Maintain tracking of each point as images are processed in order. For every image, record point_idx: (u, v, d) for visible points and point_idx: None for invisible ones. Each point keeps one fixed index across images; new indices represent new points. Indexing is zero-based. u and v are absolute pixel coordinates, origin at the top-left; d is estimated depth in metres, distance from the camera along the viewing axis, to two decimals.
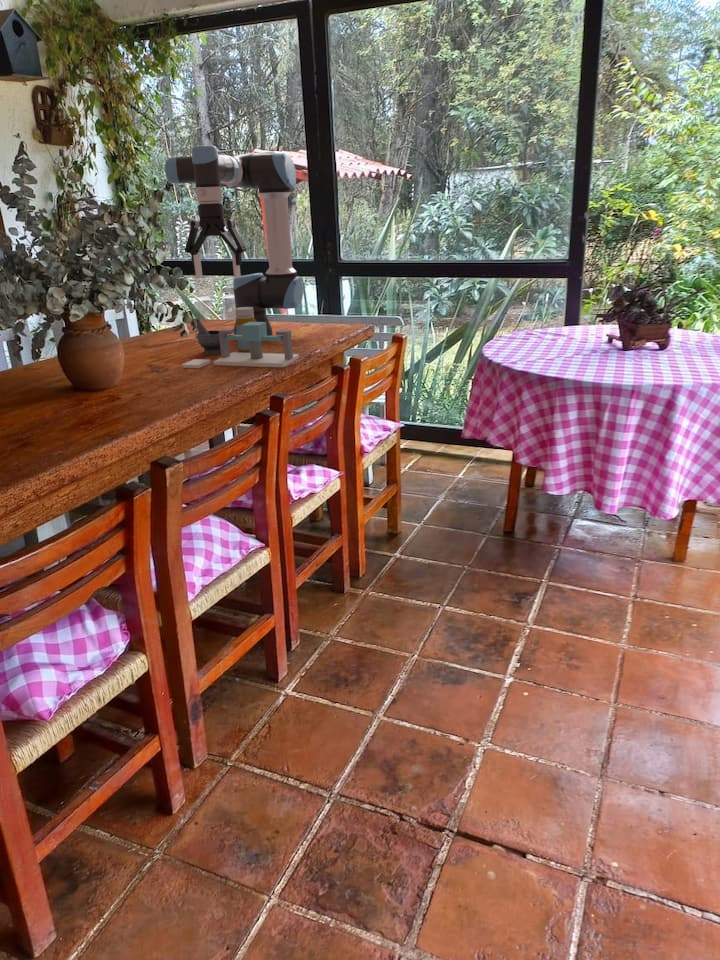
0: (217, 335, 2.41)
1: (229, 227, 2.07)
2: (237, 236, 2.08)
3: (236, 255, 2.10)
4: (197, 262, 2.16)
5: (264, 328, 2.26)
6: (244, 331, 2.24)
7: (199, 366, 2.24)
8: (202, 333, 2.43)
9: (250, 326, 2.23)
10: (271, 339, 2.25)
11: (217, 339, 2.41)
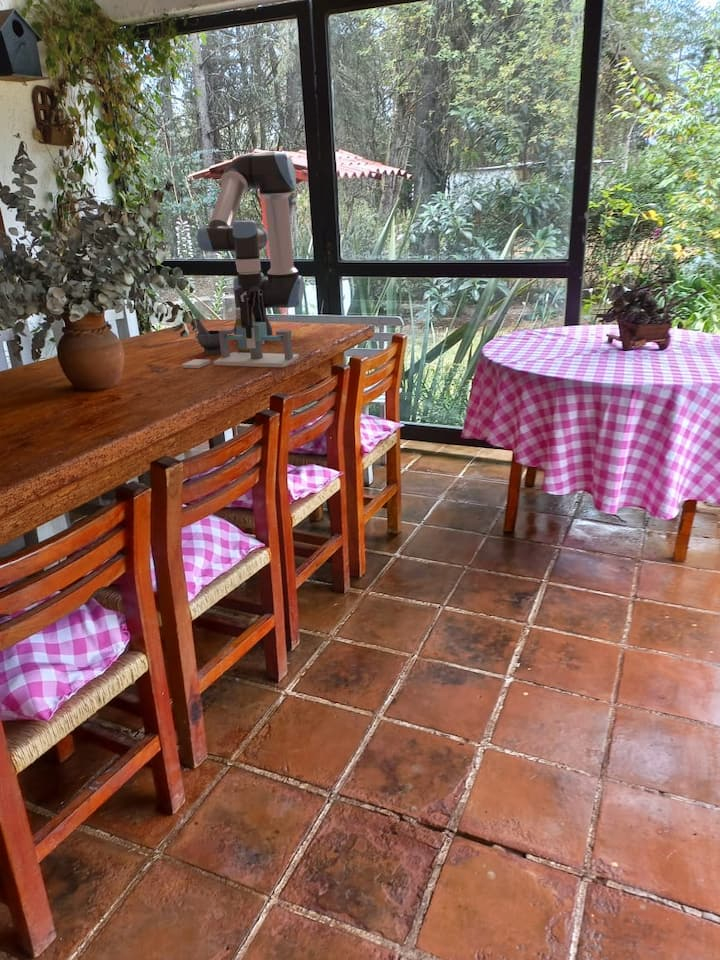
0: (217, 335, 2.41)
1: None
2: (242, 312, 2.18)
3: None
4: None
5: (264, 328, 2.26)
6: (244, 331, 2.24)
7: (199, 366, 2.24)
8: (202, 333, 2.43)
9: None
10: (271, 339, 2.25)
11: (217, 339, 2.41)
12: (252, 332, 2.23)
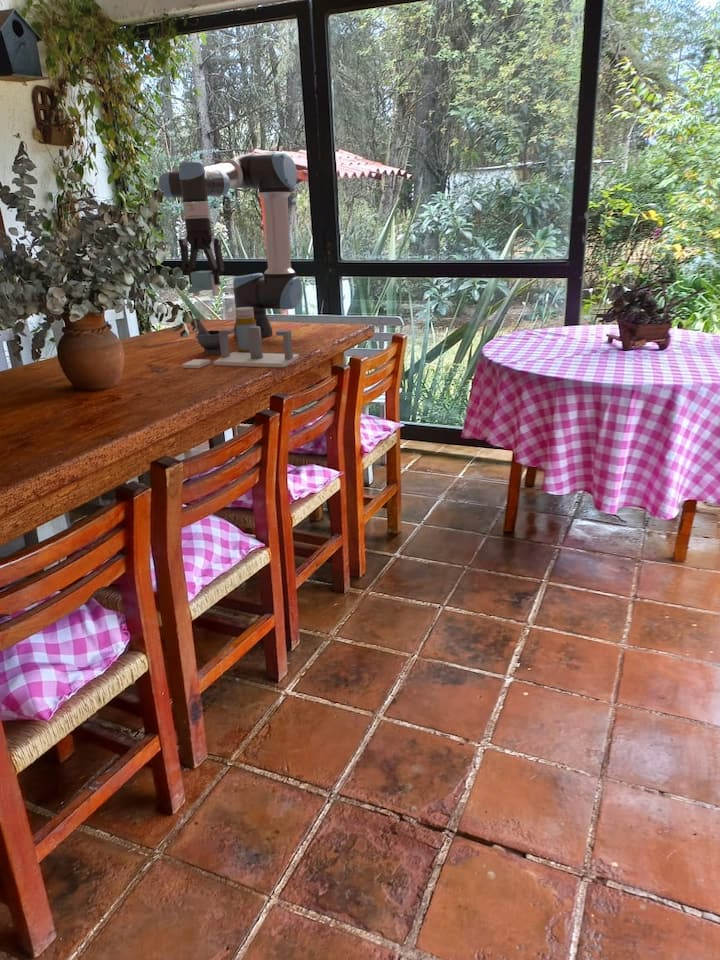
0: (217, 335, 2.41)
1: (215, 245, 2.12)
2: (220, 256, 2.14)
3: (214, 275, 2.16)
4: None
5: None
6: (209, 279, 2.16)
7: (199, 366, 2.24)
8: (202, 333, 2.43)
9: None
10: None
11: (217, 339, 2.41)
12: None
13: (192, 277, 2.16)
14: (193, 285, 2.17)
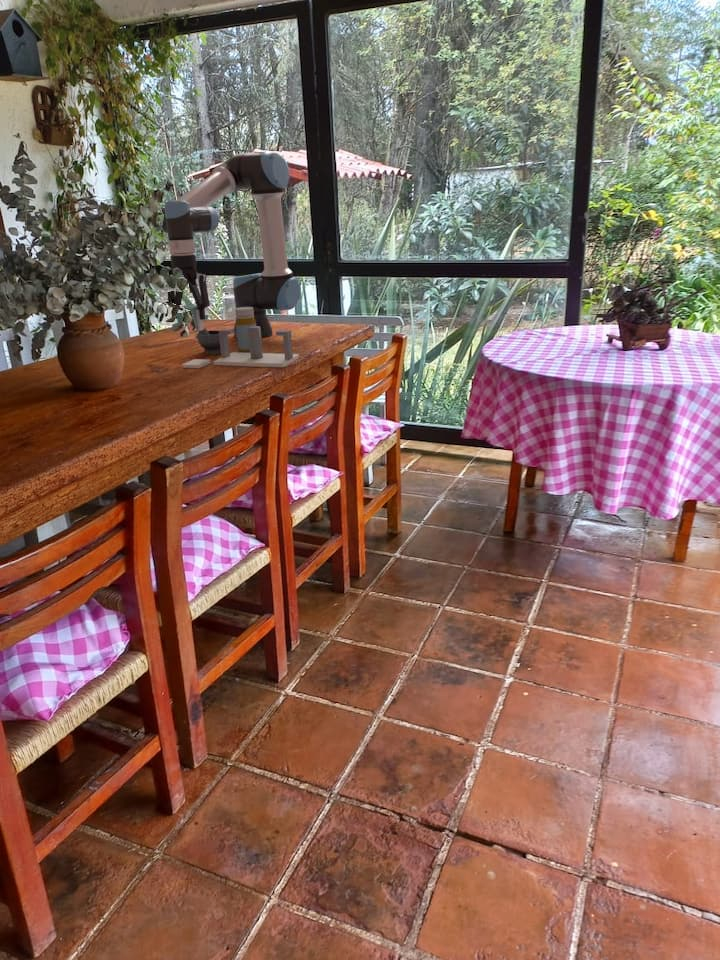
0: (217, 335, 2.41)
1: (200, 282, 2.15)
2: (205, 292, 2.17)
3: (200, 310, 2.20)
4: None
5: None
6: (195, 314, 2.19)
7: (199, 366, 2.24)
8: (202, 333, 2.43)
9: None
10: None
11: (217, 339, 2.41)
12: None
13: None
14: (179, 320, 2.20)
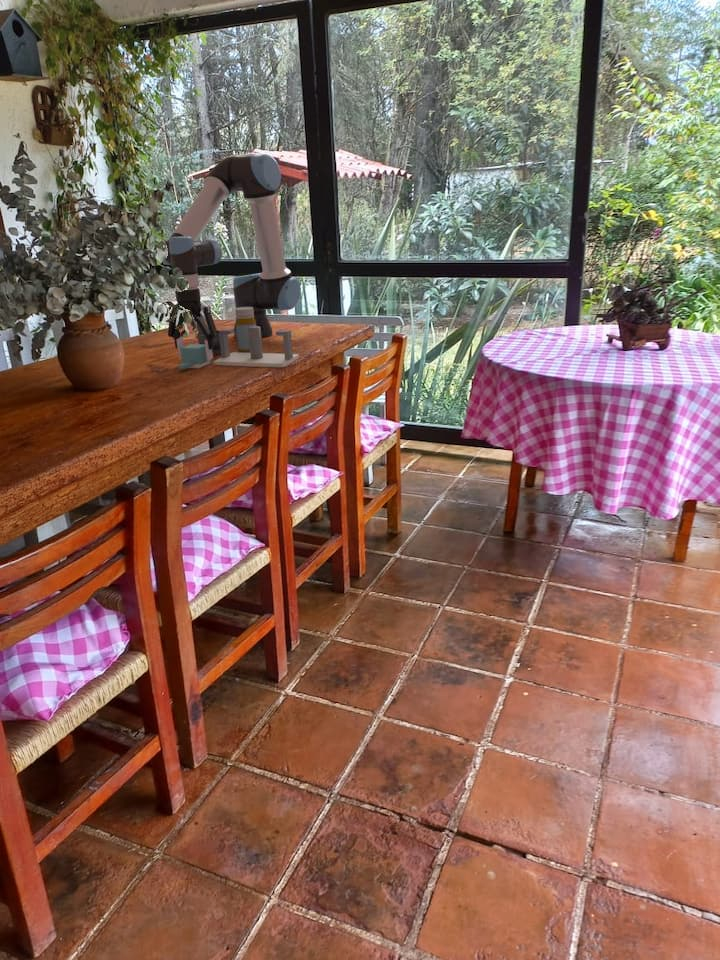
0: None
1: (205, 313, 2.19)
2: (211, 322, 2.21)
3: (208, 340, 2.23)
4: (180, 345, 2.27)
5: None
6: (200, 354, 2.24)
7: (199, 366, 2.24)
8: (202, 333, 2.43)
9: (203, 347, 2.25)
10: None
11: (217, 339, 2.41)
12: None
13: (183, 352, 2.24)
14: (184, 359, 2.25)
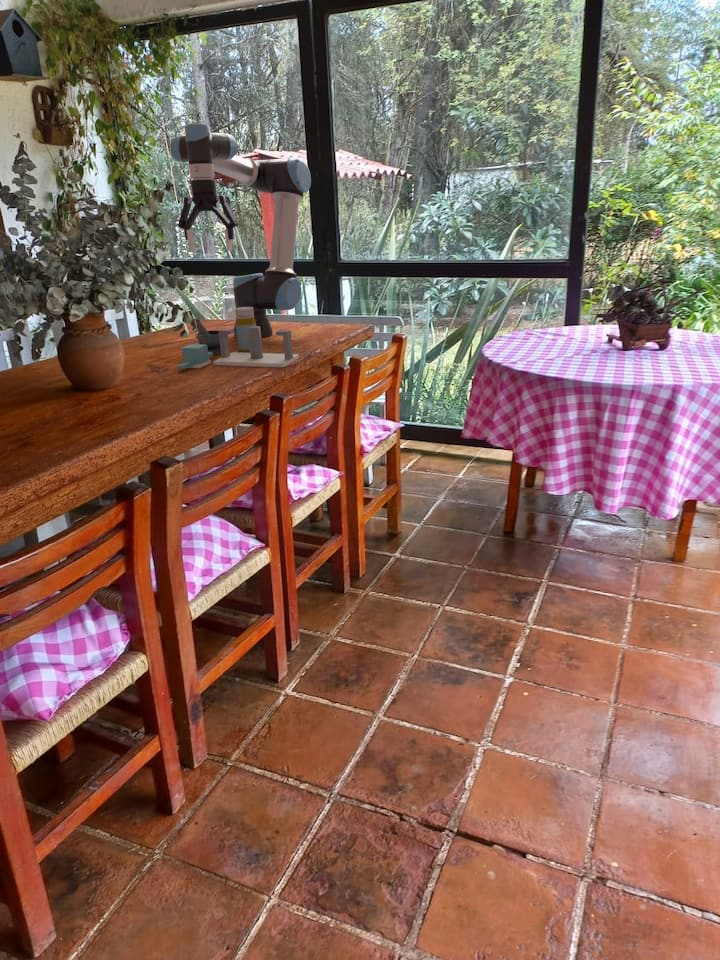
0: (217, 335, 2.41)
1: (222, 202, 2.17)
2: (229, 211, 2.18)
3: (228, 229, 2.20)
4: (190, 236, 2.25)
5: None
6: (200, 354, 2.24)
7: (199, 366, 2.24)
8: (202, 333, 2.43)
9: (203, 347, 2.25)
10: None
11: (217, 339, 2.41)
12: None
13: (183, 352, 2.24)
14: (184, 359, 2.25)
